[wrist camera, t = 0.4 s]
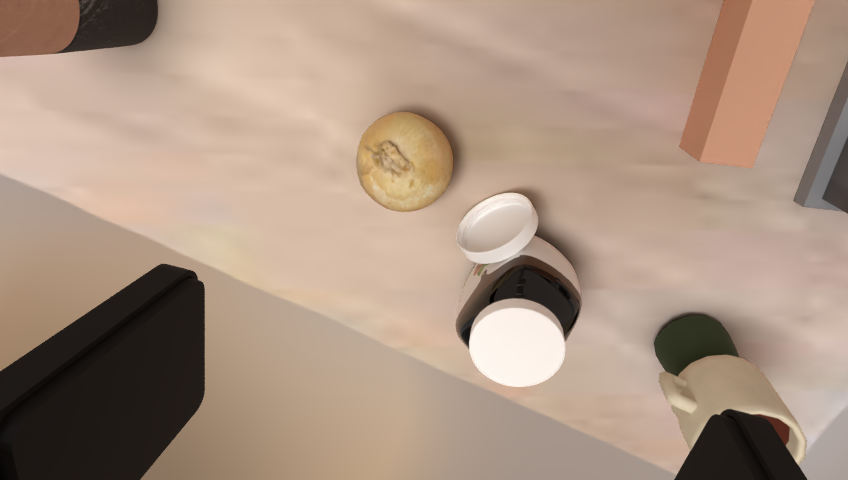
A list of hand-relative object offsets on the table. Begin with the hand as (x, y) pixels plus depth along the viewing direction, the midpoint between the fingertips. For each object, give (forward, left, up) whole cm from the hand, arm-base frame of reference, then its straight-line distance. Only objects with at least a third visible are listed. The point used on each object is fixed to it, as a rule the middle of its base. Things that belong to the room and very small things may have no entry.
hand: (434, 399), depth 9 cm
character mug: (+27, +8, -35) cm, 44 cm away
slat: (+1, +19, -35) cm, 39 cm away
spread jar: (+13, -4, -35) cm, 37 cm away
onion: (+1, -8, -35) cm, 36 cm away
